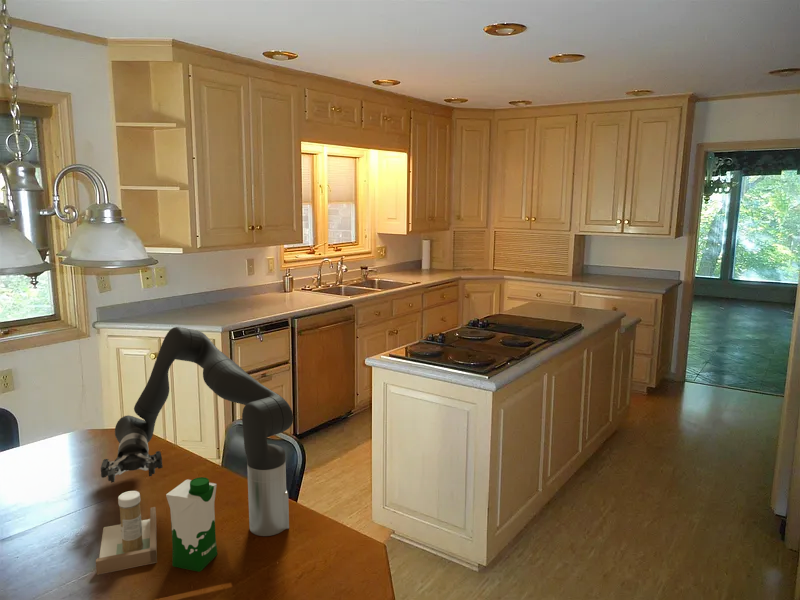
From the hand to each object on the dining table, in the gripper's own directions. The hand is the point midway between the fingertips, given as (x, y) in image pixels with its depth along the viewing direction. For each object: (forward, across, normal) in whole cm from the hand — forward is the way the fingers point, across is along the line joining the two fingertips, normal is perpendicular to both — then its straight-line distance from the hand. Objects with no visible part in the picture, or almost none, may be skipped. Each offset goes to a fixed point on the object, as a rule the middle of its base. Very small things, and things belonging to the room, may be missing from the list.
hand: (131, 475), depth 146 cm
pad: (+12, 0, +13) cm, 18 cm away
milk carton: (+21, +13, +14) cm, 28 cm away
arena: (+9, -1, +14) cm, 16 cm away
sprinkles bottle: (+12, 0, +13) cm, 17 cm away
